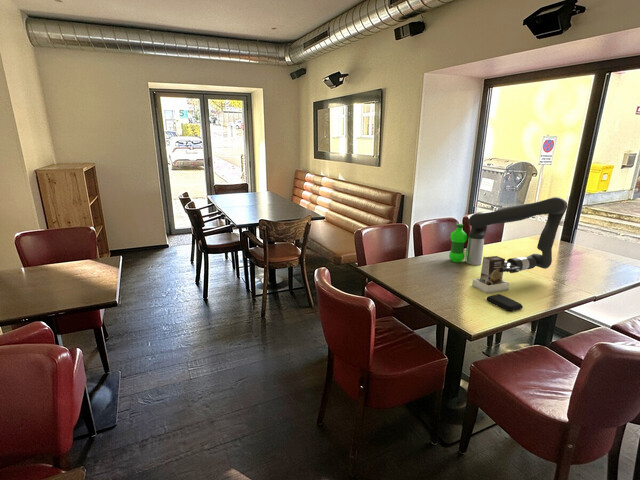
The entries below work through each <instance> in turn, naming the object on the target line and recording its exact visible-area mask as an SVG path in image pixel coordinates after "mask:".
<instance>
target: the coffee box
mask: <svg viewBox="0 0 640 480" xmlns="http://www.w3.org/2000/svg"><path fill="white" fill-rule="evenodd" d="M505 261H506V258H503V257H500V256H497V255H494V256H493V255H492V256H491V255H490V256H482V262H481V271H480V276H479V278H480V282H482V283H484V284H486V285H488V286H489V285H495V284H501V283H502V280H503V277H504V272H500V268H504V263H505Z"/></svg>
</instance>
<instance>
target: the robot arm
mask: <svg viewBox="0 0 640 480" xmlns="http://www.w3.org/2000/svg"><path fill="white" fill-rule="evenodd" d="M567 209H568V202H567V201H566V200H565V199H563V198H561V197H560V196H553V197H549V198H546V199H544V200H539V201H535V202H530V203H522V204H521V203H520V204H516V205H515V204H514V205H512V206H510V205H509V206H507V207H506V206H505V207H503V208H500V209H497V210H494V211H491V212H485V213H484V212H482V211H479V212H475V213H473V214H472V215H470V217H469V218H468V224H469V226H470V228H471V229H470V232H469V234H468V239H467V241H468V242H467V247H466V249H465V257H464V262H466V264H468V265H472V266H479V265H482V262H483V254H484V253H483V252H484V247H485V246H484V245H485V237H486V234H487V229H488V226H490V225H498V224H507V223H513V222H519V221H523V220H526V219H530V218H533V217H535V216H541V215H547V219H546V222H545V226H544V227H543V228H542V230H541V233H540V235H539V238H538V242H537V246H536V248H537V250H539V251H540V252H541V254H540V253H531V254H529V255H528V256H519V257H511V258H508V259H507V260H505V263H504V268H500V272H503V273H509V274H516V273H519V272H522V271H526V270H531V269H534V268H536V267H538V268H541V269H545V270H547V269H548V268H550V266H551V265H552V262H553V246H554V243H555V240H556V235H557V232H558V229H559V225H560V223H561V221H562V219H563V217H564V215H565V212H566V211H567Z"/></svg>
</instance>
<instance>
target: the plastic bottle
mask: <svg viewBox="0 0 640 480" xmlns="http://www.w3.org/2000/svg"><path fill="white" fill-rule="evenodd" d="M455 226H456V229H455V230H454V231H452V232H451V233H450V240H451V247H450V252H449V255H448V256H449V259H450V261H452V262H453V263H461V262H462V261H463V260H465V257H466V255H465V252H464V251H465V243H466V242H467V241H468V235H467V233H466V232H465V231H464V230H463V228H464V223H456V225H455Z"/></svg>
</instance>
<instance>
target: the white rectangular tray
mask: <svg viewBox="0 0 640 480" xmlns="http://www.w3.org/2000/svg"><path fill="white" fill-rule="evenodd" d="M471 286H472V287H473V288H475V289H477V290H479V291H480V292H483V293H485V294H493V293H499V292H504V291H505V292H506V291H508V290H509V286H510V282H508V281H506V280H503V279H502V283H501V284H495V285H489V286H488V285H486V284H484V283H482V282H480V277H479V278H473V279H472V284H471Z"/></svg>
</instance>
